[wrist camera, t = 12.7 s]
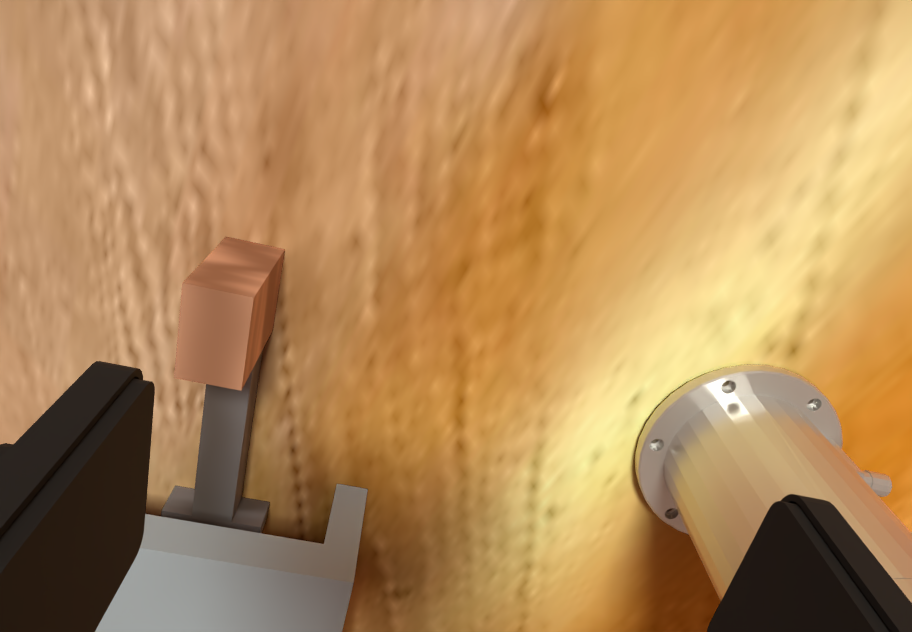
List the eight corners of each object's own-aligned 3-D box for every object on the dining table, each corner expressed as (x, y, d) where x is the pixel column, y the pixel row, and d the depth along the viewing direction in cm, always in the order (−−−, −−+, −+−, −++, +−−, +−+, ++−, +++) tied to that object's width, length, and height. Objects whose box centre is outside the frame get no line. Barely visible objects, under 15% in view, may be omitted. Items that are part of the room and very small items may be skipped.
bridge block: (367, 489, 45) (353, 582, 37) (346, 581, 48) (329, 684, 41) (78, 437, 43) (4, 525, 35) (76, 537, 46) (7, 637, 39)
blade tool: (310, 254, 38) (284, 304, 32) (267, 516, 46) (239, 599, 39) (199, 231, 38) (150, 276, 31) (174, 500, 45) (129, 582, 38)
